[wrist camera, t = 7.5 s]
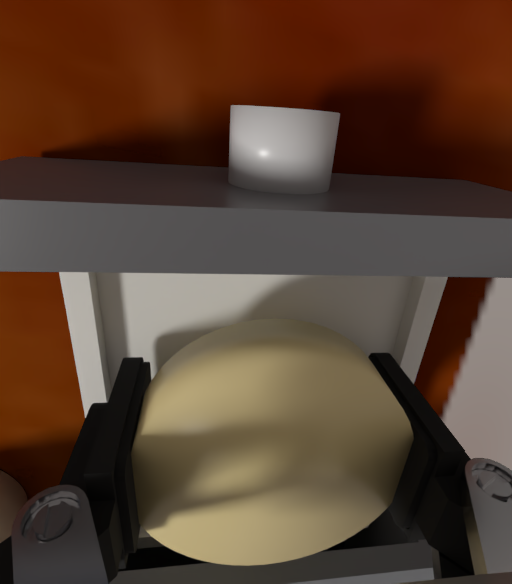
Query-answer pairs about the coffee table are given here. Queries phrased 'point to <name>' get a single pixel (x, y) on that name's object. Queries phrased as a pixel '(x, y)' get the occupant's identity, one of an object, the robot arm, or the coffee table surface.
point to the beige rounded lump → (9, 503)
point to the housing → (297, 563)
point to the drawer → (245, 245)
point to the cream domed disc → (266, 444)
